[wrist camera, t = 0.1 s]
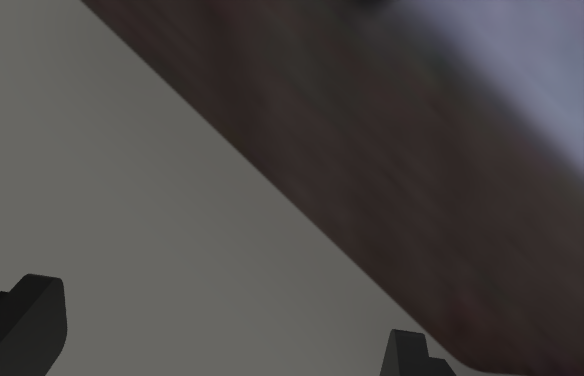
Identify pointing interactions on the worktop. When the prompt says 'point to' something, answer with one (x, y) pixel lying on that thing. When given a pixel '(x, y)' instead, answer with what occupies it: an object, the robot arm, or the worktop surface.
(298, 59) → the worktop surface
